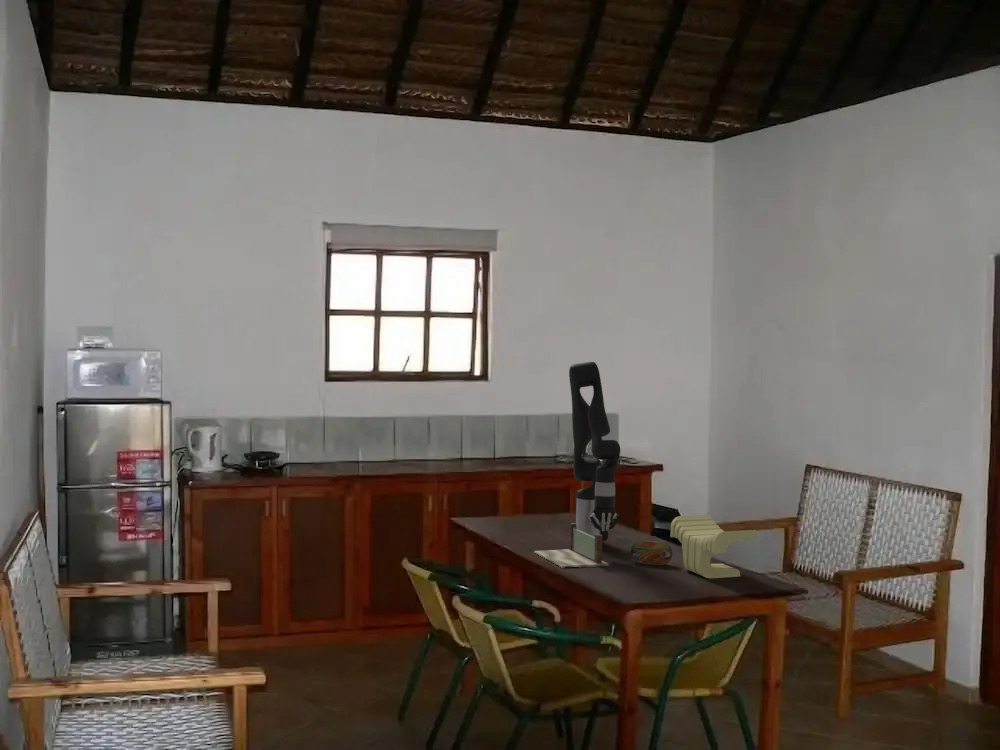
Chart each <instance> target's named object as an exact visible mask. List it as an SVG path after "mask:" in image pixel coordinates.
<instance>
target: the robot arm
mask: <svg viewBox="0 0 1000 750" xmlns="http://www.w3.org/2000/svg"><path fill="white" fill-rule="evenodd" d="M568 376H569V386H570V395H571V411H572V412H571V416H572V418H571V419H572V420H571V422H572V436H573V437H572V438H573V477H574V479H575V480H576V481H579V482H591V484H590V485H589V486H586V487H585V488H581V489H578V490H577V491H576V503H575V505H576V506H575V508H576V509H575V510H576V511H575V513H576V515H575V523H576V527H577V529H578V530H581V531H583V532H585V533H587V534H589V535H592V536H594V537H595V535H598V534H600V535H602V542H607V540H609V531H610V530H613V529H614V528H615V527H616V525H617V524H618V522H619V521H620V520H621V517H622V516H621V515H619V514H618V513H617V512H616V508H615V507H616V483H615V482H616V469H617V466H618V462H619V459H620V455H621V445H620V443H619V442H618V440H615V439H603V437H606V436H607V435H609V434H610V432H611V427H610V423H609V420H608V416H607V413H606V412H607V411H606V407H605V402H604V400H605V399H604V394H603V393H604V392H603V387H602V381H601V375H600V369H599V367H598V365H597V363H596V362H594V361H587V362H579V363H575V364H572V365H570V367H569V369H568ZM586 387H587V388H588V387H592V388H593V389H592V391H593V393H592V398H591V402H590V405H589V403H588V402H587V400H585V398H584V397H583V395H582V393H581V388H586ZM590 442H591V447H590V448H591V454H592V456H593V457H594V458H593V457H583V453H584V451H585V450H586V447H587V446H588V445H589V444H590ZM601 460H606V461H605V462H604V463H603V464H602V462H601Z"/></svg>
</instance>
